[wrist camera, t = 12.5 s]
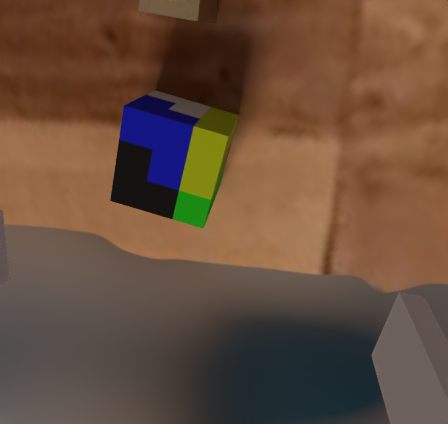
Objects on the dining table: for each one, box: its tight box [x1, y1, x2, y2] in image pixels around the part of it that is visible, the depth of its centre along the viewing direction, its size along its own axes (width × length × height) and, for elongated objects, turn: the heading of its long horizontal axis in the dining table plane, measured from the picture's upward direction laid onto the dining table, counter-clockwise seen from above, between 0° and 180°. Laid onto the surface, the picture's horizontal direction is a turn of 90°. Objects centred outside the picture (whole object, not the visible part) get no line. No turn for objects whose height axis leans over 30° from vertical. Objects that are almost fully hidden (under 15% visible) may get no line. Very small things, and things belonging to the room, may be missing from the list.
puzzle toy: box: [110, 90, 239, 228], centre depth 43 cm, size 10×10×10 cm
